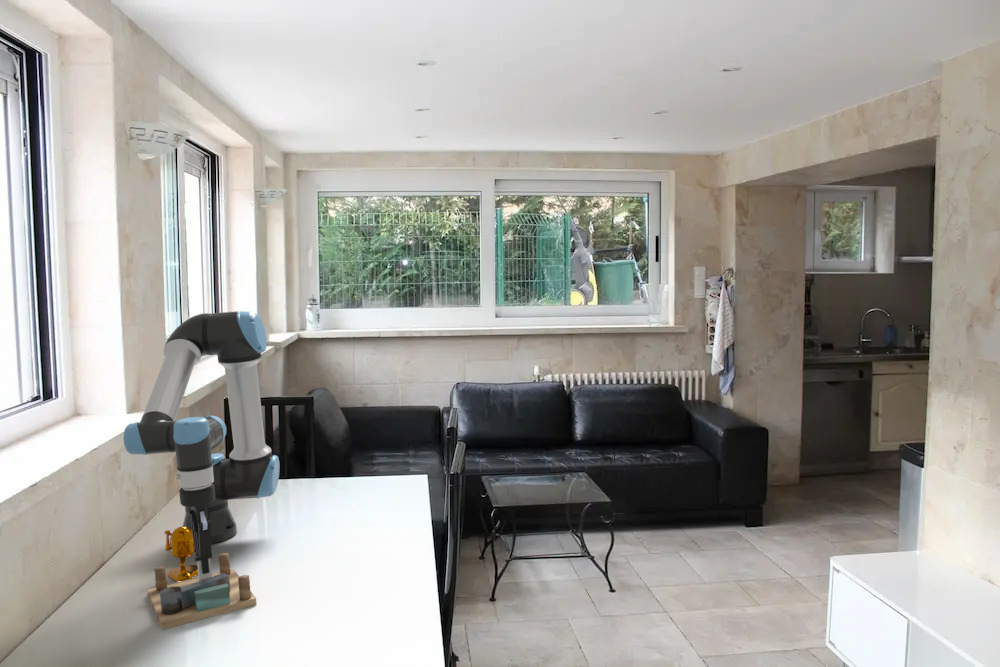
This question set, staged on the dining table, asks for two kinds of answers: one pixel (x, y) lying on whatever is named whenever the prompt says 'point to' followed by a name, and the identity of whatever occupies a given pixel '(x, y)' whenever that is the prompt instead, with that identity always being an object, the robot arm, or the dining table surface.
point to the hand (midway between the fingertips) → (205, 585)
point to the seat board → (191, 609)
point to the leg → (187, 593)
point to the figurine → (181, 553)
